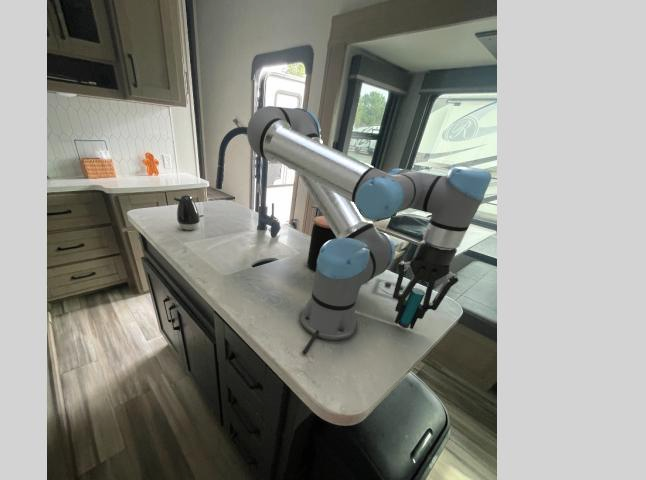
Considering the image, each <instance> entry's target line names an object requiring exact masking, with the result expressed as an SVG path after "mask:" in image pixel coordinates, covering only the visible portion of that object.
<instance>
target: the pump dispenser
mask: <svg viewBox="0 0 646 480" xmlns="http://www.w3.org/2000/svg"><path fill="white" fill-rule="evenodd" d="M173 201H176V202H178V204H177V209H176V221H177V223H178V225H179V227H181V228H182V229H183V230H186V231H192V230H195V229H197V228H198V227H199V224H200V221H201V220H200V219H201V218H200V214H199V210H198V207H197V205H196V203H195V201H194V199H193V198H192V196H190V195H188V194H183V195H182V196H181V197H180V198H178V197H173Z"/></svg>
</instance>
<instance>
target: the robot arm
mask: <svg viewBox="0 0 646 480" xmlns="http://www.w3.org/2000/svg"><path fill="white" fill-rule="evenodd" d="M321 136H322V135H321V125H320V122H319V119H318V118H317V117H316V115H315V114H314V113H312V112H311V111H310V110H307V109H304V108H301V107H293V108H291V107H282V106H273V105H268V106H267V105H266V106H263V107H261V108H259V109H257V110H256V111H255V112H254V113H252V115H251V117H250V118H249V121H248V124H247V128H246V137H247V141H248V145H249V146H250V148H251V150H252V151H253V152H254V153H255V154H256V155H257V156H259V157H261V158H262V159H264V160H265V161H267V162H269V163H272V164H275V163H279V164H282V165H284V166H286V167H287V168H288V169H289V170H293V171H294V172H296V174H297V175H298V177H299V178H300V180H301V181H302V183H303V185H304V187H305V188H306V189H307V191H308V193H309V194H310V196H311V198H312V199H313V201H314V203H315V205H316V206H317V208H318V209H319V211H320V213H321V214H322V216H324V218H325V219H326V221H327V223H328V224H329V226H330V228H331V229H332V231H333V233H334V234H335V236H336V239H332V240H330V241H328V242H326V243H325V244H324V245H323V246H322V247H321V249H320V253H319V256H318V259H317V267H316V270H315V273H314V279H313V283H312V290H311V295H310V297H309V299H308V301H307V302H306V304H305V305H304V307H303V309H302V310H301V315H300V317H301V318H300V322H301V325H302V326H303V328H304V329H305V330H306V331H307V332H308V333H310V334H311V335H312V336H311V338H310V339H309V340H308V343H307V344H306V346H305V347H304V348H303V350H302V354H307V353H308V350H309V349H310V347H311V346H312V345H313V343H314V342H315V340H316V338H319V339H322V340H327V341H342V340H345V339H346V340H347V339H348V338H350V337H351V336H352V335H353V334H354V332H355V330H356V326H357V315H356V303H357V299H358V296H359V292H360V290H361V288H362V286H364V285H365V284H367V283H368V282H369V281H371V280H373V279H375V278H376V277H378V276H379V275H381V274H383V273H384V272H385V271H386V270H387V269H388V268H390V266H391V265H392V264H393V263H394V260H395V257H396V246H395V243H394V241H393V239H392V238H391V237H390V236H389V235H388V234H387V233H384V232H382V231H378V229H377V228H376V226H375V224H374V223H373V221H376V220H377V221H378V220H384V219H387V218H390V217H393V215H395V214H397V213H400V212H403V211H405V210H408V209H412V210H417V211H422V212H424V213H429V214H431V215H430V218H429V221H428V223H427V226H426V228H425V231H424V233H423V236H422V240H421V241H420V243H419V245H418V248H417V250H416V253H415V256H413V258H411V260H410V261H404V260H400V261H399V262H398V265H397V269H398V276H397V280H396V282H395V287H394V290H393V295H392V299H394V300H397V303H396V305H395V309H394V310H395V311H394V312H395V313H397V314H396V317H395V321H394V324H396V325H399V324H398V322H399V320H400V317H401V315H402V313H403V310H404V308H405V306H406V302H407V299H408V297H409V294H410V292H411V291H412V289H413V288H415V286H416V285H417V284H418V283H419V281H424V282H426V283H427V285H426V289H425V295H424V297H423V300H422V301H423V302H422V303H421V304H420V306H419V308H418V310H417V312H416V314H415V316H414V319H413V321H412V323H411V324H410V325H409V329H411V330H413V329H414V327H415V325H416V323H417V321H418V319H419V320H422V319H423V318H424V317H425V315H426V312H428V310H431V311H437V310H438V308H439V306H440V304H442V302H443V300H444V299H445V297H446V295H448V292H449V291H450V290H451V288H452V287H453V286H454V285H456V284H457V283H458V282H459V276H458V274H457V273H453V272H452V271H451V268H450V267H451V264H452V262H453V260H454V258H455V256H456V255H457V252H458V248H460V246H461V244H462V242H463V240H464V238H465V235H466V233H467V231H468V230H469V227H470V225H471V223H472V221H473V219H474V218H475V216H476V214H477V212H478V210H479V208H480V206H481V204H482V202H483V200H484V199H485V195H486V192H487V190H488V187H489V186H490V183H491V181H492V173H491V172H490V171H488V170H485V169H481V168H475V167H467V166H453V167H451V168H450V170H449V171H448V173H447V174H446V175H438V174H433V173H428V172H424V171H423V172H422V171H417V170H412V169H410V168H393V169H391V170H390V171H389V172H388V173H387V172H385V171H383V170H380V169H379V168H376V167H374V166H373V165H370V164H369V163H365V162H363V161H361V160H359V159H357V158H355V157H353V156H351V155H348V154H347V153H344V152H342V151H340V150H338V149H335V148H334V147H332V146H329V145H327V144H325V143H323V140H322V138H321ZM364 218H365V219H366V220H365V219H364ZM368 220H369V221H368ZM370 220H371V221H370ZM409 268H411V271H412V274H413V275H412V277H411V279H410V281H409V282H408V283H407V285H406V286H405V288H404V289H403V290H402V292H401V293H400V291H401V290H400V287H401V285H402V283H403V280H404V276H405V273H406V272H407V271H408V270H409ZM442 278H445V280H444V282H443V284H442V285H441V287H440V288H439V290H438V292H437V293H436V295H435V297H434V298H433V300H432V301H431V298H432V294H433V290H434V287H435V283H436V281H438V280H440V279H442Z"/></svg>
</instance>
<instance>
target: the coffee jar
mask: <svg viewBox="0 0 646 480" xmlns="http://www.w3.org/2000/svg"><path fill="white" fill-rule="evenodd" d="M332 239H336V236H335V234H334V233H333V231H332V229H331V228H330V226H329V224H328V223H327V221H326V219H325V218H324V216H323V215H318V216H316V217H314V218H313V225H312V230H311V236H310V242H309V247H308V248H309V249H308V255H307V265H308V267H309V268H310V269H312V270H313V271H316V267H317V259H318V256H319V253H320V249H321V247H322V246H323V245H324V244H325V243H326V242H328V241H330V240H332Z"/></svg>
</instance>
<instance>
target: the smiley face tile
mask: <svg viewBox="0 0 646 480" xmlns="http://www.w3.org/2000/svg"><path fill="white" fill-rule="evenodd" d="M386 282H389V283H393V284H396V281H391V280H389V281H388V280H384V281H381V282H380V283H379V284H378V287H379V288H380V290H381V291H382V292H384V293H386V294H387V295H391V296H393V294H392V293H389V292H387V291H386V290H385V289H383V288H382V286H381V285H382V284H385V283H386ZM401 286H402V287H404V289H405V288H406V286H404V285H402V284H401Z"/></svg>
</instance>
